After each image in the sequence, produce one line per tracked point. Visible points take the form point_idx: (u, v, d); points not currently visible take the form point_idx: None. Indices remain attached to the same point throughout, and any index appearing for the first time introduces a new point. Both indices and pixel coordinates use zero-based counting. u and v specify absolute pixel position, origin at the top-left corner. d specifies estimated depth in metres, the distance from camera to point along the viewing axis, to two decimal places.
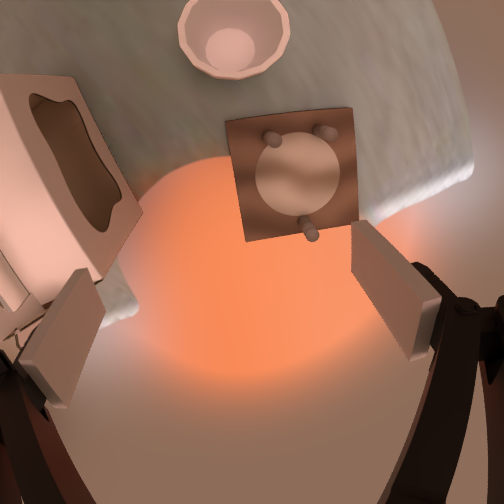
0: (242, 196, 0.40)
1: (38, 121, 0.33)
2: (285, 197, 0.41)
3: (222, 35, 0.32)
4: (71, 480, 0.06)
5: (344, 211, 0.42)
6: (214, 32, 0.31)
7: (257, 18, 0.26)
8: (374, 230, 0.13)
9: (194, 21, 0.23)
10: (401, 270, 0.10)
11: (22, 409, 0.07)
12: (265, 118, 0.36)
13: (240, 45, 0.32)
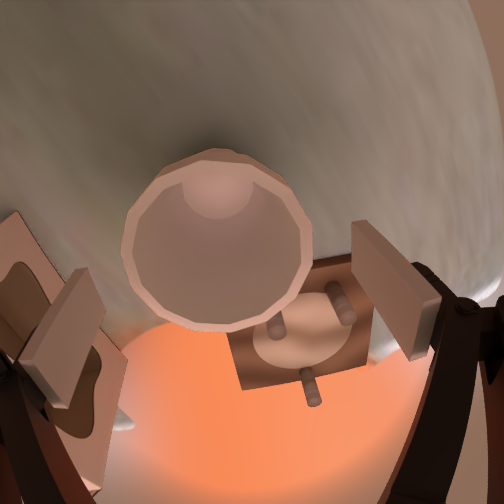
0: (237, 356, 0.34)
1: None
2: (287, 354, 0.35)
3: None
4: (71, 480, 0.06)
5: (352, 358, 0.36)
6: None
7: None
8: (374, 230, 0.13)
9: (151, 212, 0.17)
10: (401, 270, 0.10)
11: (22, 409, 0.07)
12: None
13: (232, 179, 0.26)
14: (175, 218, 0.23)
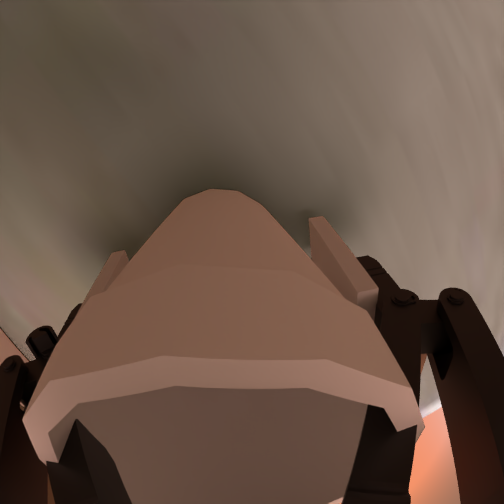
0: None
1: None
2: None
3: None
4: (105, 468, 0.06)
5: None
6: None
7: None
8: (328, 225, 0.14)
9: None
10: (343, 262, 0.11)
11: None
12: None
13: None
14: None
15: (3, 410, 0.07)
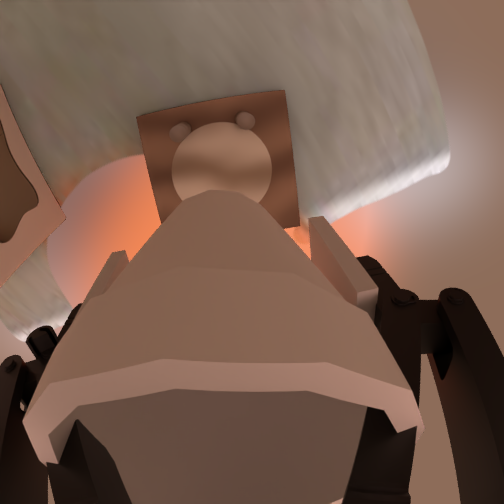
0: (159, 198, 0.35)
1: None
2: None
3: None
4: (105, 468, 0.06)
5: (281, 212, 0.37)
6: None
7: None
8: (328, 225, 0.14)
9: None
10: (343, 262, 0.11)
11: None
12: (179, 109, 0.31)
13: None
14: None
15: (3, 410, 0.07)
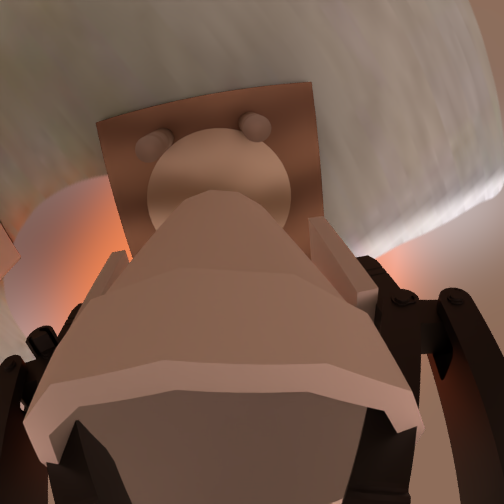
0: (132, 237, 0.25)
1: None
2: None
3: None
4: (105, 468, 0.06)
5: None
6: None
7: None
8: (328, 225, 0.14)
9: None
10: (343, 262, 0.11)
11: None
12: (156, 109, 0.20)
13: None
14: None
15: (3, 410, 0.07)
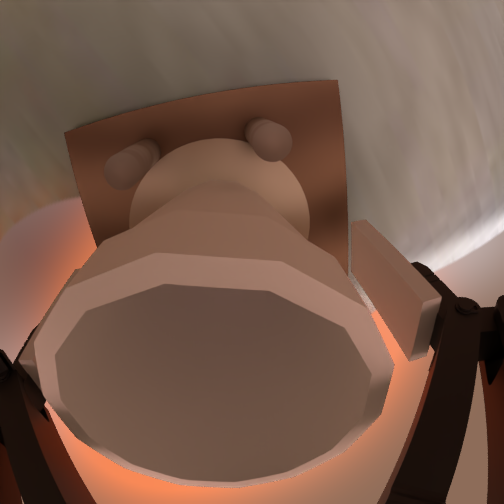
0: None
1: None
2: None
3: None
4: (71, 480, 0.06)
5: None
6: None
7: None
8: (374, 230, 0.13)
9: (97, 314, 0.09)
10: (401, 270, 0.10)
11: (22, 409, 0.07)
12: (138, 114, 0.16)
13: None
14: (155, 290, 0.15)
15: None
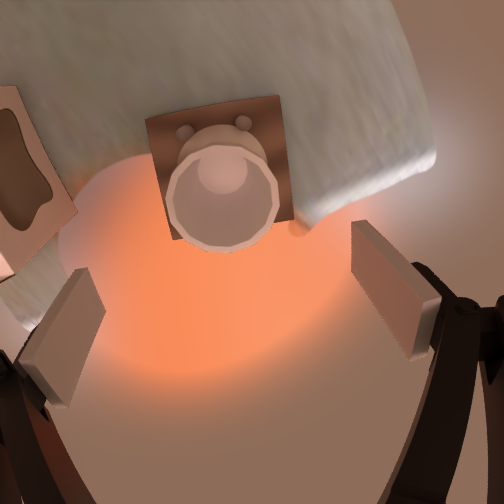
0: (165, 193, 0.38)
1: None
2: None
3: (213, 154, 0.36)
4: (71, 480, 0.06)
5: None
6: None
7: None
8: (374, 230, 0.13)
9: (182, 179, 0.28)
10: (401, 270, 0.10)
11: (22, 409, 0.07)
12: (184, 112, 0.34)
13: (232, 165, 0.37)
14: (194, 190, 0.34)
15: None
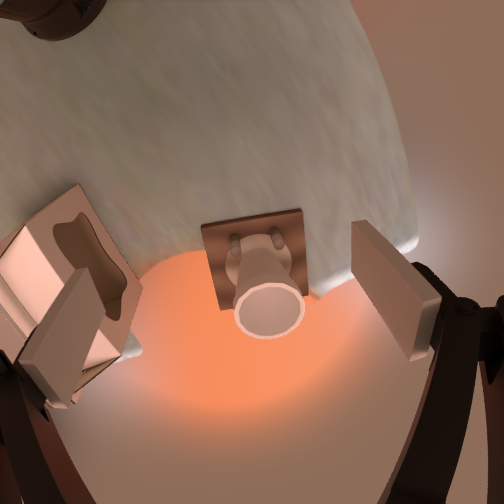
0: (216, 280, 0.54)
1: None
2: None
3: None
4: (71, 480, 0.06)
5: None
6: None
7: None
8: (374, 230, 0.13)
9: None
10: (401, 270, 0.10)
11: (22, 409, 0.07)
12: (231, 225, 0.50)
13: None
14: None
15: None
